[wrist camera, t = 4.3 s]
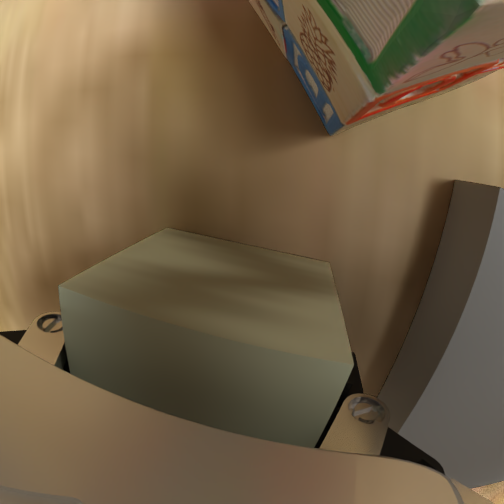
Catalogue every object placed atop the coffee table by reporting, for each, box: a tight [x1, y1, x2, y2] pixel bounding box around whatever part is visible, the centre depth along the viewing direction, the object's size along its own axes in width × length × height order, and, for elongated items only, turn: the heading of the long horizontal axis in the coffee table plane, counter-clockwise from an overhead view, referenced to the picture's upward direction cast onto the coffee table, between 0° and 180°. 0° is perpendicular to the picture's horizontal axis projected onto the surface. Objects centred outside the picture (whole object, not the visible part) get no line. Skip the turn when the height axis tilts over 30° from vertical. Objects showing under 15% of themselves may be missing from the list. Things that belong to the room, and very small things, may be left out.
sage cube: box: [58, 228, 354, 448], centre depth 9 cm, size 6×6×6 cm
